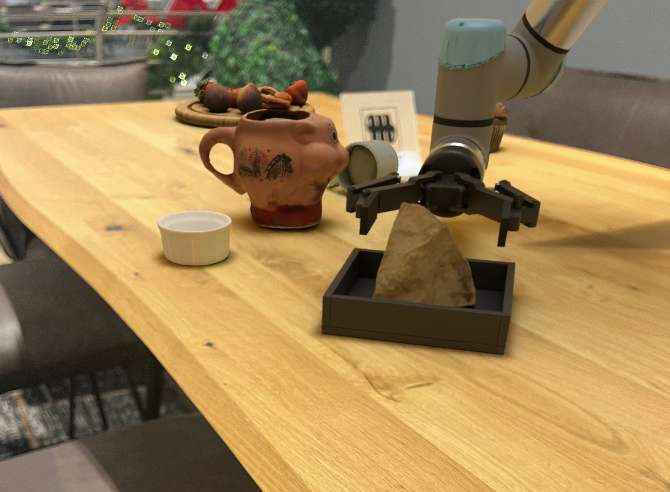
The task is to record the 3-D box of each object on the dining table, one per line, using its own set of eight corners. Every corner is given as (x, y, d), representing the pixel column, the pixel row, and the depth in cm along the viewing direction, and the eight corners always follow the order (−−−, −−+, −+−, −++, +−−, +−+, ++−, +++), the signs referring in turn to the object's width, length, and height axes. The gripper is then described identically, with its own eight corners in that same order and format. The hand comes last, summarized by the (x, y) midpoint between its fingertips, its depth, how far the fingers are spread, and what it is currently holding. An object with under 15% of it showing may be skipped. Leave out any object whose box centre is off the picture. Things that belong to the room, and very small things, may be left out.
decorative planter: (198, 234, 101) (191, 119, 93) (205, 210, 111) (200, 103, 103) (348, 235, 101) (354, 120, 93) (342, 210, 111) (347, 104, 103)
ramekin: (210, 272, 89) (208, 234, 87) (146, 261, 92) (142, 224, 90) (245, 251, 96) (244, 215, 93) (184, 241, 99) (182, 206, 96)
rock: (492, 272, 81) (404, 246, 83) (501, 220, 73) (403, 193, 75) (454, 358, 78) (365, 329, 81) (458, 314, 70) (359, 283, 73)
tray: (509, 296, 84) (515, 262, 82) (503, 354, 71) (511, 315, 69) (352, 281, 87) (354, 247, 85) (321, 333, 75) (322, 296, 73)
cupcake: (497, 144, 153) (505, 88, 148) (507, 154, 146) (516, 95, 140) (449, 143, 154) (456, 87, 148) (457, 153, 146) (464, 94, 140)
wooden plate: (309, 106, 189) (310, 68, 185) (320, 130, 163) (322, 87, 159) (179, 106, 188) (177, 68, 183) (170, 130, 162) (167, 86, 157)
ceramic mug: (400, 189, 122) (403, 136, 118) (377, 200, 116) (380, 145, 112) (342, 181, 127) (343, 130, 122) (317, 191, 121) (317, 138, 117)
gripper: (552, 218, 91) (556, 276, 74) (347, 202, 96) (307, 253, 79) (566, 150, 87) (573, 196, 70) (350, 137, 91) (309, 177, 75)
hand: (432, 227), depth 74 cm, fingers open, 13 cm apart
